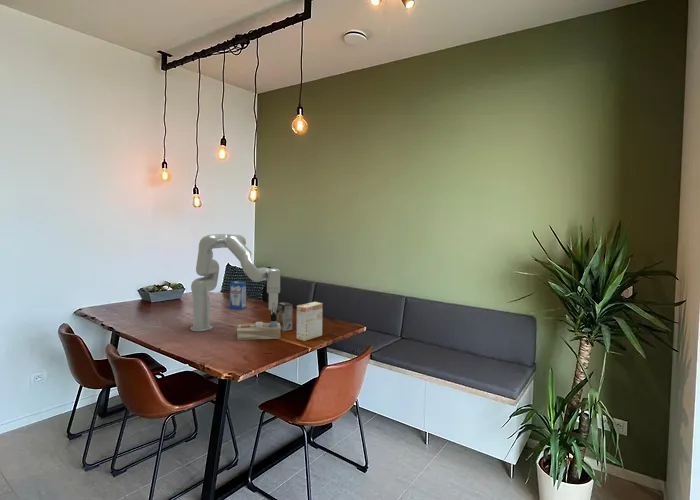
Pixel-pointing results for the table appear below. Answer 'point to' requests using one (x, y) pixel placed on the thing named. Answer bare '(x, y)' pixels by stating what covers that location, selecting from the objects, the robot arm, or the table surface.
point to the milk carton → (238, 295)
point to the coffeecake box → (309, 321)
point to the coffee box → (284, 315)
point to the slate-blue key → (273, 324)
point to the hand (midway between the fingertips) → (273, 320)
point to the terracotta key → (245, 326)
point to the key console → (258, 332)
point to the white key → (259, 324)
